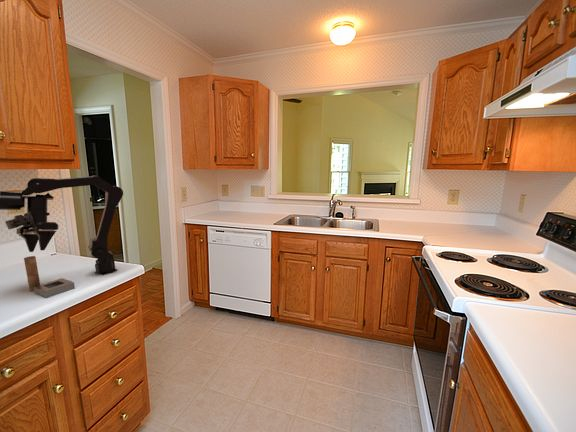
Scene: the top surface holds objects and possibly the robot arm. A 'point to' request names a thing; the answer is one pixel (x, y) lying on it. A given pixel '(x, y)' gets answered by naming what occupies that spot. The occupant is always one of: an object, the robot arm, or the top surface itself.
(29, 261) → the walnut pin
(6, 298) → the top surface
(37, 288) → the square hole frame
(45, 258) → the top surface
